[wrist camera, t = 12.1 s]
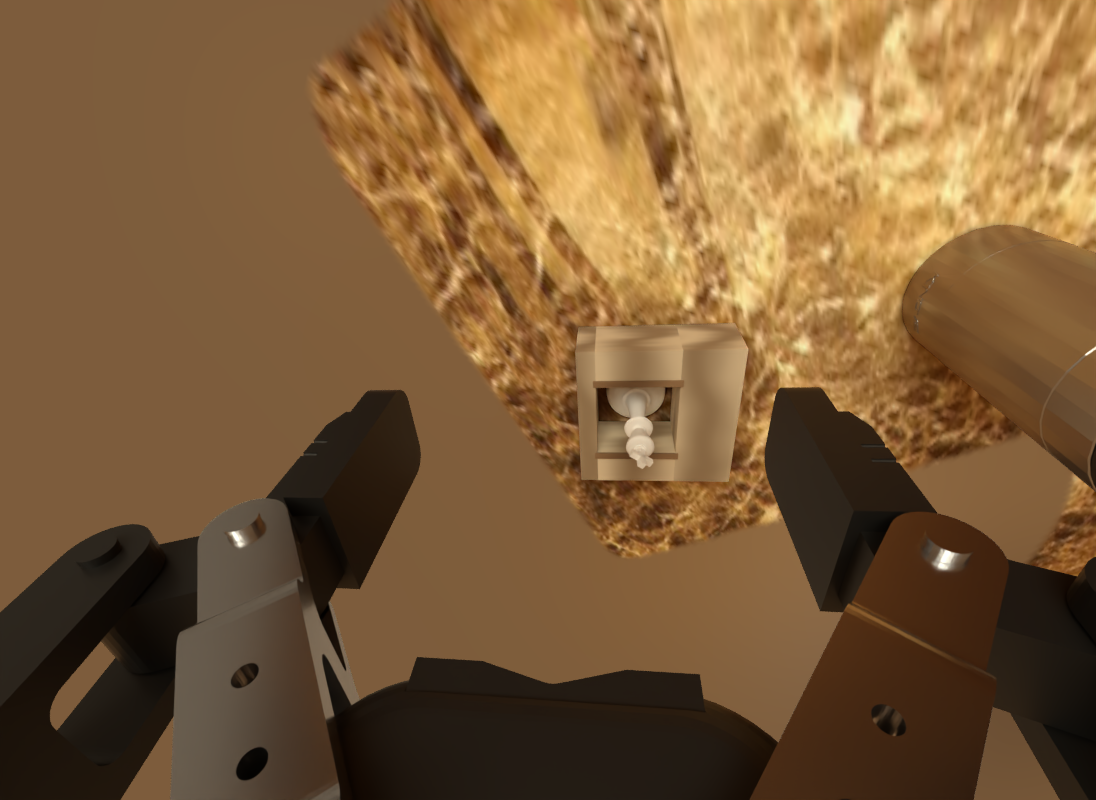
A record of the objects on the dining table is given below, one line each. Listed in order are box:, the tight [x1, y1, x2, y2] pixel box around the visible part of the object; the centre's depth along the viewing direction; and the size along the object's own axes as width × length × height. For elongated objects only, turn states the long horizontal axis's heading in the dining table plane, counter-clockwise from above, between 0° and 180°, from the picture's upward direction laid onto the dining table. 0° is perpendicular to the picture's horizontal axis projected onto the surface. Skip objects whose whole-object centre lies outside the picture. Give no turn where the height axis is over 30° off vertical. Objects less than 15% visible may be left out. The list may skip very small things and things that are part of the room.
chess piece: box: [606, 387, 665, 469], centre depth 39 cm, size 5×5×10 cm
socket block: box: [575, 323, 748, 482], centre depth 41 cm, size 12×12×5 cm
